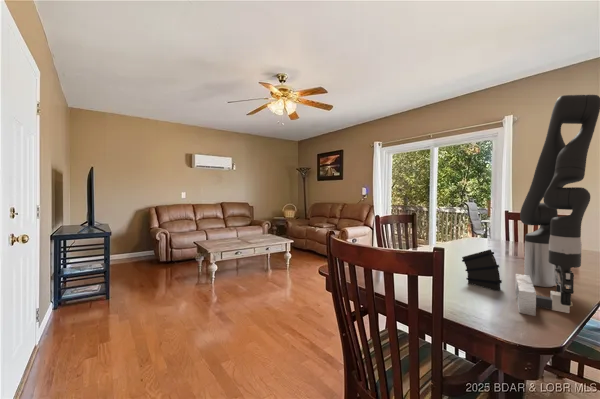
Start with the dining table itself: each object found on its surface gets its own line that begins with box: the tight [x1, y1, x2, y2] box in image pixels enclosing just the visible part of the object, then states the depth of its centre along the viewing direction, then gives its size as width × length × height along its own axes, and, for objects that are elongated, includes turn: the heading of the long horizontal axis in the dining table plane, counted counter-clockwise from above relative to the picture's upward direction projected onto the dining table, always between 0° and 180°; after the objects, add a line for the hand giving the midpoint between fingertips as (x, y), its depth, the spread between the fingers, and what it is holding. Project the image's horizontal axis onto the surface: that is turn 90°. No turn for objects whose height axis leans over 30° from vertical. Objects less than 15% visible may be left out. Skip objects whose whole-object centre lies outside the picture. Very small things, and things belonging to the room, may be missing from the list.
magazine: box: [461, 249, 503, 292], centre depth 111 cm, size 4×13×15 cm, turn 33°
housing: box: [514, 273, 537, 317], centre depth 94 cm, size 4×22×7 cm, turn 144°
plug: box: [536, 290, 573, 314], centre depth 91 cm, size 13×4×5 cm, turn 55°
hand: (563, 300), depth 89 cm, fingers open, 8 cm apart
